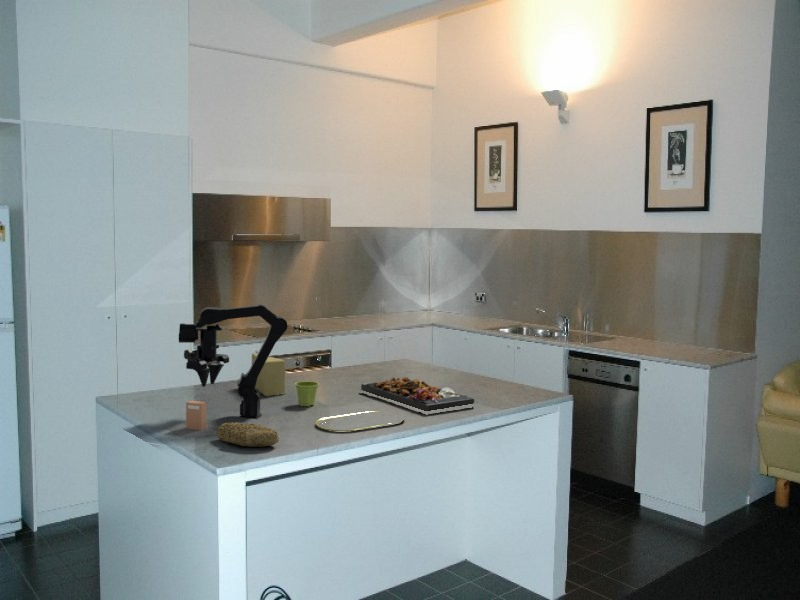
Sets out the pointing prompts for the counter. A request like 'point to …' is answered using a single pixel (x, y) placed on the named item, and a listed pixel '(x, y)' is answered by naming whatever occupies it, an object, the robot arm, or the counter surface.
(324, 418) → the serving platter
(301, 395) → the plant pot
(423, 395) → the food platter
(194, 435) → the mat
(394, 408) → the counter surface
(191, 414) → the card box
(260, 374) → the cheese
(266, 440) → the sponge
